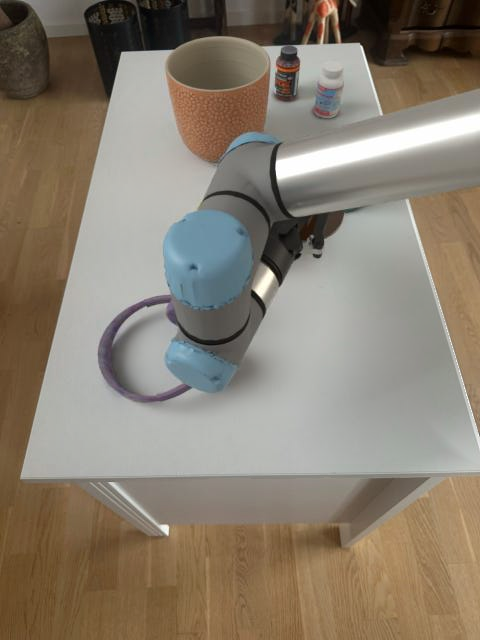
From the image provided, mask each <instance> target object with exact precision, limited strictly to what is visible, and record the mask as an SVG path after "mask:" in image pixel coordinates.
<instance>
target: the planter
mask: <svg viewBox="0 0 480 640" xmlns="http://www.w3.org/2000/svg"><path fill="white" fill-rule="evenodd" d="M271 63H272V62H271V58H270V55H269V53H268V52H267V50H266V49H264V48H263V47H262V46H260V45H259V44H257V43H256V42H253V41H251V40H248V39H246V38H240V37H235V36H227V35H226V36H225V35H223V36H221V35H217V36H216V35H215V36H207V37H201V38H196V39H193V40H190V41H187V42H185V43H183V44H181V45H179V46H178V47H176V48H175V49H174V50H172V51H171V52H170V53H169V54H168V56H167V58H166V59H165V62H164V69H165V70H164V71H165V77H166V78H165V79H166V83H167V89H168V93H169V99H170V104H171V107H172V112H173V116H174V120H175V123H176V127H177V130H178V134H179V136H180V138H181V140H182V142H183V144H184V145H185V147H186V148H187V149H188V150H189V152H190V153H192V154H193V155H195V156H196V157H198V158H200V159H202V160H205V161H208V162H210V163H217V164H218V163H219V161H220V159H221V157H222V156H223V155H224V154H225V153H226V151H227V149H228V148H229V146H230V145H231V143H232V142H233V141H234V140H235V139H236V138H237V137H239V136H240V135H242V134H245V133H248V132H258V133H263V134H264V130H265V125H266V120H267V113H268V107H269V106H268V105H269V96H270V95H269V94H270V83H271V67H272V66H271Z"/></svg>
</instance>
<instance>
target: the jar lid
mask: <svg viewBox="0 0 480 640" xmlns="http://www.w3.org/2000/svg"><path fill="white" fill-rule="evenodd" d="M318 216H319V214H315V215H312V216H311V217H310V218H309V220H308V221H307V222H306V224H305V225H304V226H303V228H302V229H301V230H300V232H299V236H300V238H301V241H302V243H305V242H306V241H307V238H309V237H310V235H313V231H314V227H315V224H316V221H317V218H318ZM344 218H345V213H344V210H339V211H333V212H331V214H330V217H329V220H328V223H327V226H326V229H325V232H324V235H323V236H324V240H327V239H329V238H330V237H331V236H333V235H334V234H336V232H338V231H339V229H340V228H341V226H342V224H343V221H344Z"/></svg>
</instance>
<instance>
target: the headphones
mask: <svg viewBox="0 0 480 640" xmlns="http://www.w3.org/2000/svg"><path fill="white" fill-rule="evenodd" d="M164 304H167V305H166V308H165V316H166V318H167V319H168V320H169V321H170V322H171V323H172V324H173V325H175V326H176V327H178V324H177V318H176V313H175V309H174V305H173V301H172V297H171V294H161V295H156V296H151V297H148V298H145V299H143V300H141V301H139V302H137V303H134V304H132V305H130V306H128V307H126V308H125V309H124V310H122V311H121V312H119V314H117V315H116V316H115V317H114V318H113V319H112V320H111V321H110V322H109V324H108V325H107V326H106V328H105V329H104V331H103V333H102V335H101V338H100V340H99V343H98V347H97V362H98V367H99V370H100V374H101V375H102V377H103V379H104V380H105V381H106V383H107V384H108V385H109V386H110V387H111V388H112V389H113V390H114V391H115V392H117V393H118V394H119V395H120V396H122V397H124V398H125V399H127V400H129V401H132V402H135V403H136V402H137V403H154V402H155V403H156V402H160V403H161V402H165V401H169V400H171V399H174V398H177V397H179V396H181V395H183V394H185V393H186V392H188V391H190V390H191V389H193V388H192V387H190V386H188V385H187V384H185V383H183V382H182V383H181V384H179V385H178V386H176V387H174V388H173V387H172V388H171V389H169V390H166V391H163V392H159V393H156V395H143V394H142V395H141V394H136V393H133V392H131V391H128V390H127V389H126V388H124V387H123V386H122V385H121V384H120V382H118V380H117V378H116V376H115V374H114V370H113V365H112V349H113V345H114V341H115V337H116V336H117V334H118V332H119V330H120V329H121V327H122V325H123V324H124V323H125V321H127V320H128V319H129V318H130V317H131V316H132V315H134V314H135V313H137V312H138V311H140V310H142V309H143V308H145V307H146V308H150V307H154V306H158V305H164Z"/></svg>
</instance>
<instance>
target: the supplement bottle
mask: <svg viewBox="0 0 480 640" xmlns="http://www.w3.org/2000/svg"><path fill="white" fill-rule="evenodd" d="M298 52H299V51H298V48H297V47H296V46H294V45H290V44H288V45H287V44H286V45H284V46H282V47H281V48H280V53H279V54H280V55H279V56H278V57H277V58H276V60H275V72H274V87H273V95H274V97H275V98H276V99H277V100H280V101H283V102H290V101H292V100H294V99H296V97H297V95H298V89H299V82H300V81H299V80H300V71H301V59H300V58H299V56H298Z"/></svg>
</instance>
